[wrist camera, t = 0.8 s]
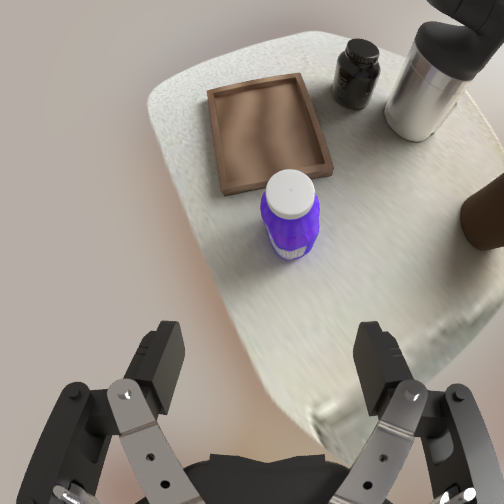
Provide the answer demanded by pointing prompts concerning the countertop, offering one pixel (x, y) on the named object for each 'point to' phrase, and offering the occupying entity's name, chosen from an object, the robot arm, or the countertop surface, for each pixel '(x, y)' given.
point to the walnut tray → (265, 132)
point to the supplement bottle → (356, 74)
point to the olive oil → (485, 216)
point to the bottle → (290, 213)
